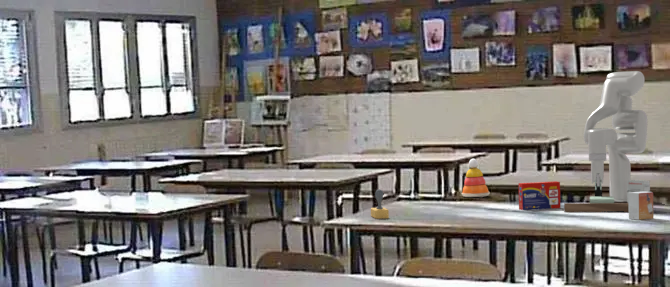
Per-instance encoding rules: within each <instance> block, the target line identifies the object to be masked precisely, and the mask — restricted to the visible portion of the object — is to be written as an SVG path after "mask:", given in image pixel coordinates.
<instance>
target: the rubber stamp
mask: <svg viewBox="0 0 670 287" xmlns="http://www.w3.org/2000/svg"><path fill="white" fill-rule="evenodd" d="M374 195H375V196H374V197H375V199H376V201H377V206H376V207H371V208H370V216H371V217H372V218H374V219H378V220H379V219H389V217H390V215H389V214H390V212H389V209H388V208H386V207H383V206H382V201H383V198H384V192H383V190H382V189H380V188H378V189H376V191H375V193H374Z"/></svg>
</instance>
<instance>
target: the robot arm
mask: <svg viewBox="0 0 670 287" xmlns="http://www.w3.org/2000/svg"><path fill="white" fill-rule="evenodd" d="M644 85H645V75H644V74H643V72H641V71H638V70H633V71H632V70H631V71H616V72H615V71H614V72H611V73H608V74H607V75H606V79H605V81H604V82H603V85H602V91H601V96H600V101H599V105H598V108H596V109H595V110H594V111H592V113H591V114H590V115H589V117H588V118H587V119H586V121H585V125H584V130H583V142H584V143H585V144H586V145H588V147H587V148H588V162H590V175H591V184H594V197H603V189H602V184H603V183H604V174H605V173H604V172H605V170H604V169H605V168H604V166H605V165H604V164H605V163H604V162H606V161H607V154H608V166H609V167H608V168H609V170H608V173H609V174H608V176H609V196H614V203H628V202H627V181H628V180H632V175H631V174H632V173H631V169H632V168H631V161H630V159H629V157H628V156H627V155H626V154H641V153H643V152H645V151H646V150H645V149H646V147H647V138H648V137H647V135H648V122H649V121H648V116H647V113H646V112H645V111H644V110H643V109H633V99H632V98H631V96H635V95H636V94H637V93H638V92H639V91H640V90H642V89H643V87H644ZM610 117H611V126H612V128H608V127H603V128H602V127H599V128H597V127H596V125H598V124H599V122H601V121H603V120H605V119H608V118H610ZM595 127H596V128H595ZM617 131H625V132H617ZM626 131H628V132H626ZM629 131H634V132H629Z"/></svg>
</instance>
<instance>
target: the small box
mask: <svg viewBox="0 0 670 287" xmlns="http://www.w3.org/2000/svg"><path fill="white" fill-rule="evenodd" d="M628 201H629V212H628V219H629V220H636V221H639V220H653V219H654V192H652V191H650V192H646V191H642V192H629V193H628Z"/></svg>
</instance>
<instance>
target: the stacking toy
mask: <svg viewBox="0 0 670 287" xmlns="http://www.w3.org/2000/svg"><path fill="white" fill-rule="evenodd" d="M468 167H469V169H468V170H467V171H466V174H465V179H464V184H463V188H462V192H461V196H463V197H465V198H483V197H487V196H490V194H491V193H490V191H489V189H488V186H487V185H486V184H487V182H486V180H485V179H486V178H484V174H483V171H482V170H481V169H480V168H478V167H479V162H478V160H477V159H476V158H471V159H470V160H469V162H468Z"/></svg>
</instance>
